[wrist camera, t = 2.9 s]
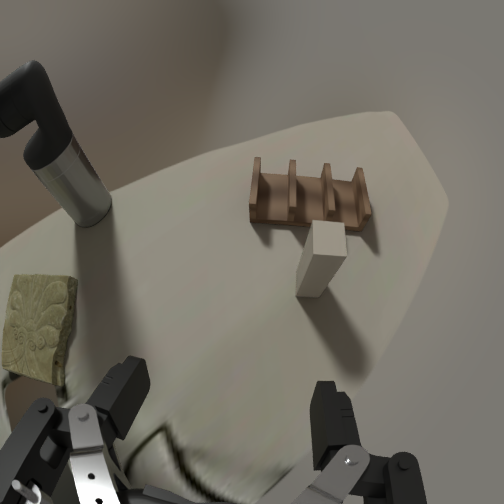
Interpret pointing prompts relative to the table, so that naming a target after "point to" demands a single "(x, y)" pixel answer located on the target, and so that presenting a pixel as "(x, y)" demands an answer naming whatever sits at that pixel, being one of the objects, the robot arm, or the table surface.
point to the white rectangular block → (320, 257)
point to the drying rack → (308, 198)
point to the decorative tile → (38, 326)
